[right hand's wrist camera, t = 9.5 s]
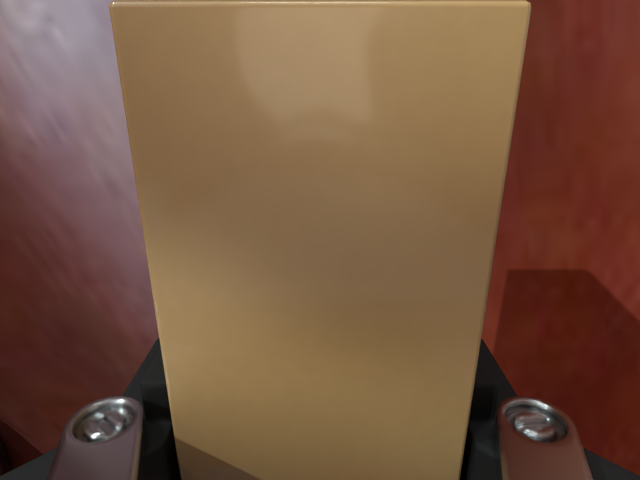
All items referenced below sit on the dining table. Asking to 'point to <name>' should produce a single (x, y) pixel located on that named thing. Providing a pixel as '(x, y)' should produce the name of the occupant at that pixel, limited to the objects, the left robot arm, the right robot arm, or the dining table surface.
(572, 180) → the dining table surface
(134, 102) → the post
